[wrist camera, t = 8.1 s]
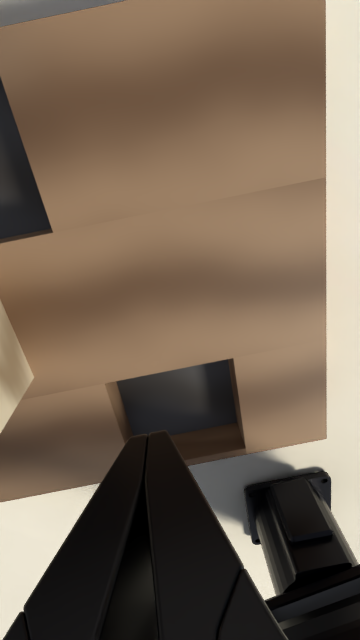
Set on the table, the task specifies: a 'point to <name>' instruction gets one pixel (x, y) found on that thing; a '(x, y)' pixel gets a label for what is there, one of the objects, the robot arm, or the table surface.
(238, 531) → the table surface
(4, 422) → the block
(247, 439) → the board
